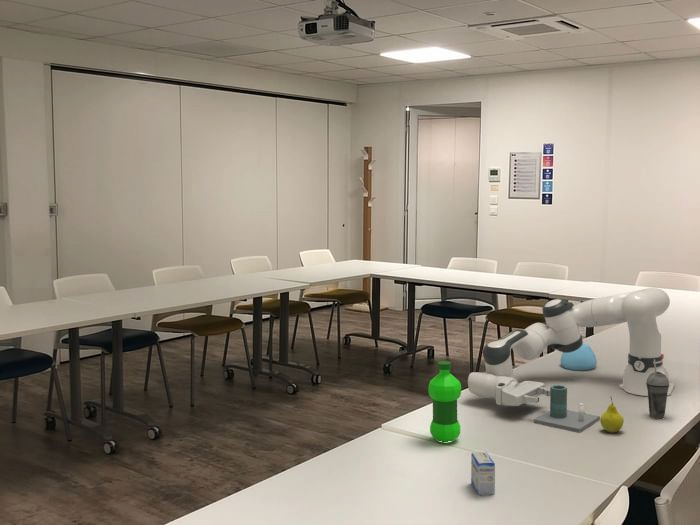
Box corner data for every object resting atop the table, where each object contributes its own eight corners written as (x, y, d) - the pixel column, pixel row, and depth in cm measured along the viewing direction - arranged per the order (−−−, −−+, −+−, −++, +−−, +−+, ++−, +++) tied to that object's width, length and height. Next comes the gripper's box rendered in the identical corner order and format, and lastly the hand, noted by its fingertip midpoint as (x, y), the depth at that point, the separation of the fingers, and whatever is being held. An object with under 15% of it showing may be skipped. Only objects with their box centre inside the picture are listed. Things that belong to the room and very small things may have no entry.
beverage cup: (670, 421, 239) (672, 362, 237) (647, 420, 241) (648, 361, 238) (665, 414, 246) (667, 357, 244) (643, 413, 248) (644, 356, 246)
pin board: (555, 410, 253) (555, 390, 252) (599, 419, 242) (600, 399, 241) (533, 422, 241) (534, 401, 240) (579, 432, 230) (580, 410, 230)
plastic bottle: (441, 448, 219) (440, 368, 217) (422, 438, 229) (421, 361, 226) (468, 442, 224) (467, 364, 221) (448, 432, 233) (447, 357, 231)
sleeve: (554, 412, 247) (555, 384, 246) (568, 415, 244) (568, 386, 243) (548, 416, 243) (548, 387, 242) (562, 419, 240) (562, 390, 239)
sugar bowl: (558, 370, 307) (558, 343, 306) (562, 361, 321) (562, 336, 320) (595, 372, 302) (595, 345, 301) (597, 364, 316) (598, 338, 314)
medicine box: (470, 483, 194) (470, 452, 193) (487, 482, 194) (487, 451, 193) (478, 495, 186) (478, 463, 185) (495, 494, 186) (495, 462, 185)
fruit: (606, 426, 235) (607, 391, 234) (627, 431, 231) (627, 395, 229) (596, 432, 231) (597, 395, 229) (617, 437, 226) (618, 399, 224)
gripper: (522, 391, 263) (558, 398, 254) (493, 405, 248) (530, 413, 239) (522, 374, 262) (558, 381, 253) (493, 387, 247) (530, 394, 238)
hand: (544, 397), depth 246 cm, fingers open, 8 cm apart
